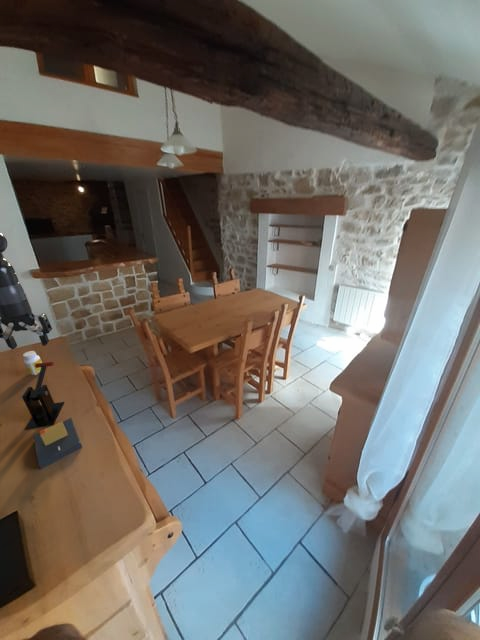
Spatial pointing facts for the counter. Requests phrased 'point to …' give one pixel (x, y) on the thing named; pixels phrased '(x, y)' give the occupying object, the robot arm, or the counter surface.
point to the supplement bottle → (32, 362)
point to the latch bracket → (41, 408)
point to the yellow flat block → (53, 433)
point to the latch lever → (39, 379)
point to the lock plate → (57, 445)
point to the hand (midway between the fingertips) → (30, 346)
